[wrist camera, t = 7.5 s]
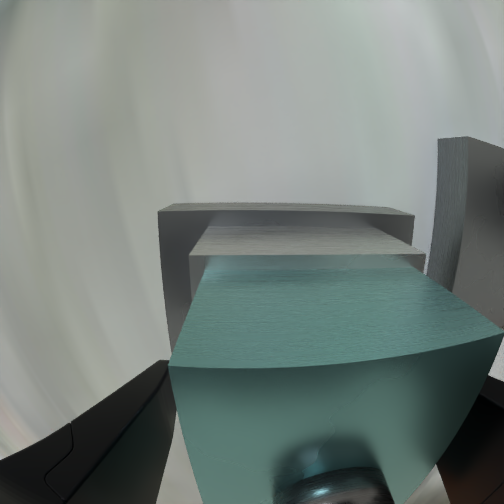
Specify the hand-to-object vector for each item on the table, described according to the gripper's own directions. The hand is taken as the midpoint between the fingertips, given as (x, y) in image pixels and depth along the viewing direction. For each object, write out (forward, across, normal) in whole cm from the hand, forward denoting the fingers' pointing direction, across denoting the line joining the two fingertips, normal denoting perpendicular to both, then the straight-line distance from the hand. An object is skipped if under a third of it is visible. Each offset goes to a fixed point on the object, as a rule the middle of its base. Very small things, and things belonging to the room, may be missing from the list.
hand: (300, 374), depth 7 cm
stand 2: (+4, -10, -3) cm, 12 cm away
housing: (+2, 0, 0) cm, 2 cm away
